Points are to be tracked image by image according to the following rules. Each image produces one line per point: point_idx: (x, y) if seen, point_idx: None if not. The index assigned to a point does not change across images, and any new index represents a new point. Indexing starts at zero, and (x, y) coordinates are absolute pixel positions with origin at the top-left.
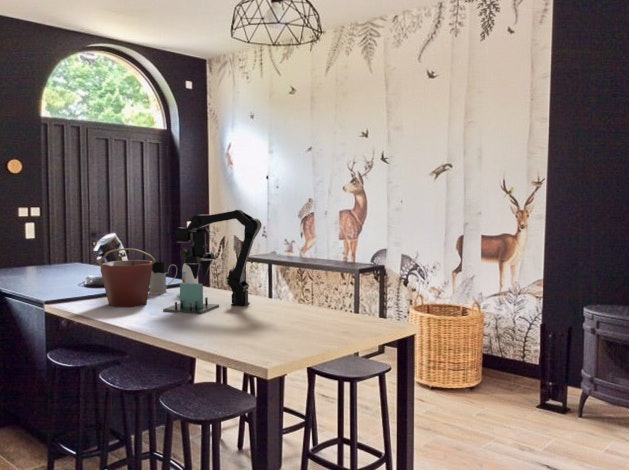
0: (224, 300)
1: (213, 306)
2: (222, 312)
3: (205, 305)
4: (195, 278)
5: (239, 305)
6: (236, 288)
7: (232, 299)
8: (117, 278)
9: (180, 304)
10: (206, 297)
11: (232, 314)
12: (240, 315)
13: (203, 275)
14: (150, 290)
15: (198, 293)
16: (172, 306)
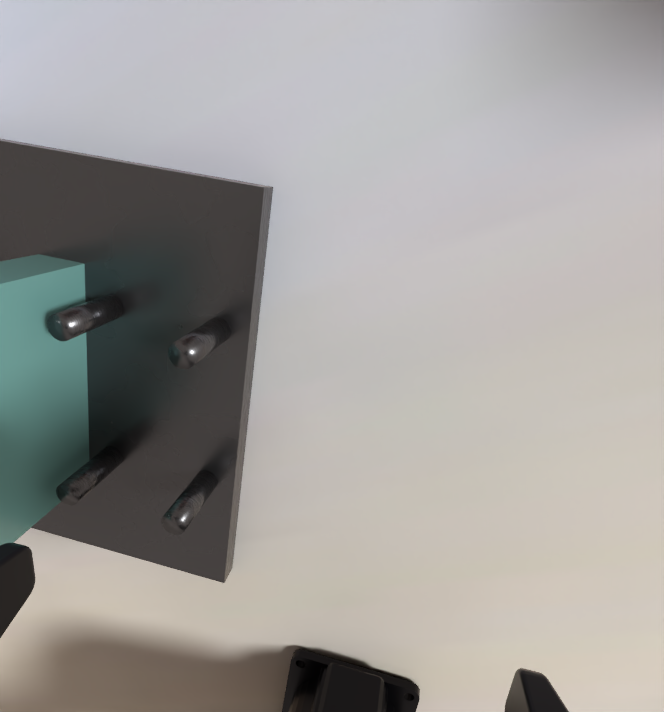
0: (553, 574)
1: (131, 553)
2: (50, 611)
3: (152, 482)
4: (9, 570)
5: (283, 705)
6: None
7: (319, 700)
8: None
9: (21, 261)
10: (176, 524)
11: (20, 669)
12: (13, 709)
13: (519, 672)
14: None
15: None
16: (10, 163)
